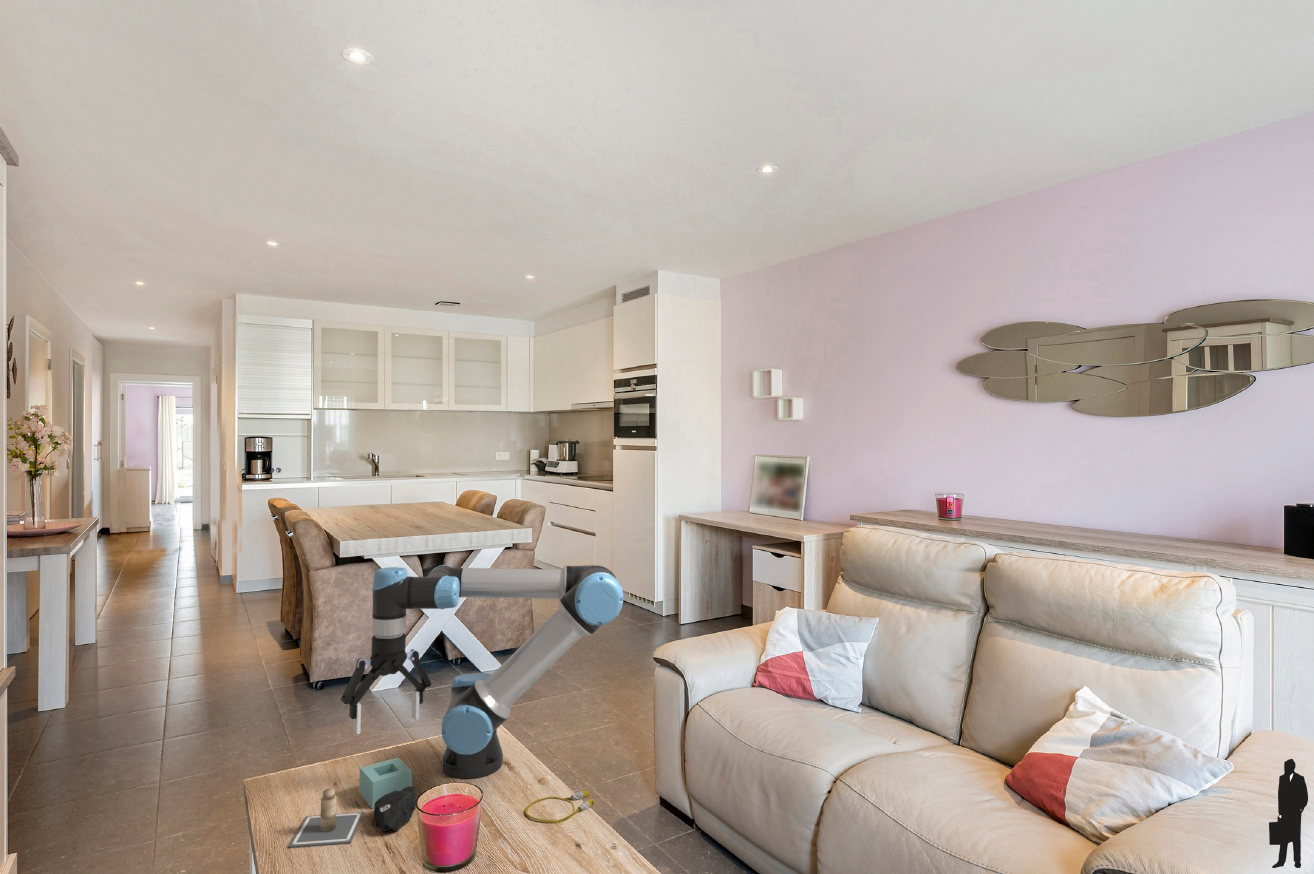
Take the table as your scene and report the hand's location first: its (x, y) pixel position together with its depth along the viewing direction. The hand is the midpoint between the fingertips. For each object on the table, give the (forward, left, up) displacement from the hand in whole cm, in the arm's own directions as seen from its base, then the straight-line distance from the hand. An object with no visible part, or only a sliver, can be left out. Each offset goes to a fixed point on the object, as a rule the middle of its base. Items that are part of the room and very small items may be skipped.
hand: (386, 724), depth 166 cm
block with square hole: (0, 0, -16) cm, 16 cm away
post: (+9, +14, -16) cm, 23 cm away
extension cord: (-40, +12, -17) cm, 45 cm away
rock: (-4, +12, -17) cm, 21 cm away
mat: (+9, +14, -16) cm, 23 cm away
